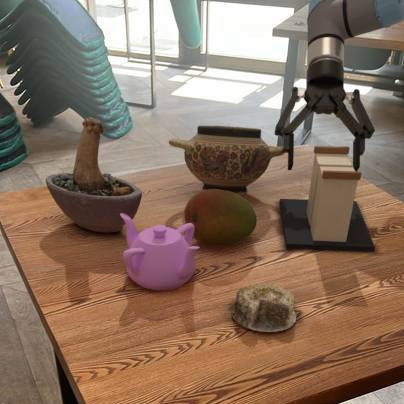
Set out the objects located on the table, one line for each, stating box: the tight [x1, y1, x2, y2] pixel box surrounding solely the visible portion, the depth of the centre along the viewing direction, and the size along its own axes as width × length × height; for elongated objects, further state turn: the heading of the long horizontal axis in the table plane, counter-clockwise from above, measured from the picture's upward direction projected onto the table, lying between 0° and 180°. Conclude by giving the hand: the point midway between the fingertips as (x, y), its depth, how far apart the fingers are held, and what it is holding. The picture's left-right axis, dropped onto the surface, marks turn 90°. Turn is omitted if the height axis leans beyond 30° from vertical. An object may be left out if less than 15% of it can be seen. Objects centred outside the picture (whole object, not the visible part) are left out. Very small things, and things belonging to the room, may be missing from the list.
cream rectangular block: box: [307, 145, 353, 226], centre depth 108 cm, size 6×6×13 cm
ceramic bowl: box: [168, 125, 285, 196], centre depth 118 cm, size 24×18×15 cm
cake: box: [231, 283, 297, 333], centre depth 86 cm, size 10×10×5 cm
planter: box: [45, 116, 143, 234], centre depth 104 cm, size 15×17×20 cm
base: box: [278, 167, 376, 253], centre depth 108 cm, size 16×20×14 cm
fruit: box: [184, 189, 258, 247], centre depth 103 cm, size 12×13×10 cm
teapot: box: [120, 213, 201, 291], centre depth 94 cm, size 12×14×9 cm
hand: (323, 168), depth 115 cm, fingers open, 13 cm apart
